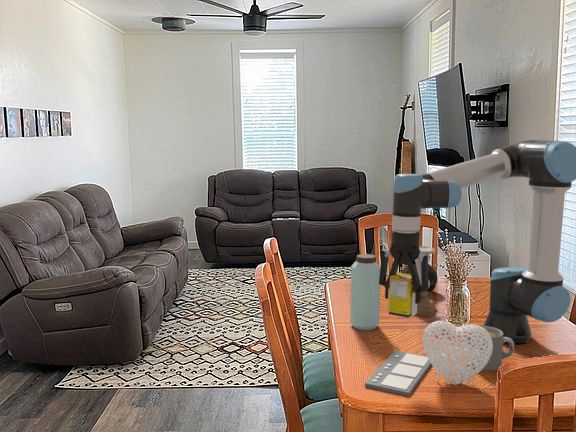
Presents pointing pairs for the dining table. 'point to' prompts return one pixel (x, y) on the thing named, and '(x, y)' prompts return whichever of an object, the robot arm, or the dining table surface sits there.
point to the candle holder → (425, 305)
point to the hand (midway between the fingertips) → (402, 312)
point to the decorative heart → (457, 350)
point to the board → (399, 373)
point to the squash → (431, 276)
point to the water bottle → (365, 292)
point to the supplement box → (400, 294)
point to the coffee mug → (495, 348)
